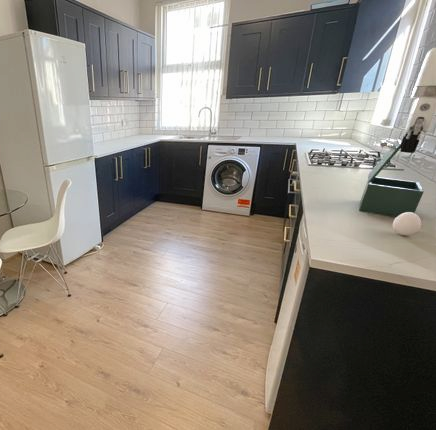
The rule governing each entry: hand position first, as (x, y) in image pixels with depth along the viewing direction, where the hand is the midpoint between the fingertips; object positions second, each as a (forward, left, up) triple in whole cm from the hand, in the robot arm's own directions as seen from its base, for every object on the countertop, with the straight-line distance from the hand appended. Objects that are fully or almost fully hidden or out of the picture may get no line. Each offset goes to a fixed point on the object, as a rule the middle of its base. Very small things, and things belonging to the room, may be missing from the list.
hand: (406, 150), depth 91 cm
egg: (-5, +11, -25) cm, 28 cm away
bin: (-1, -15, -25) cm, 29 cm away
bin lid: (+3, -15, -6) cm, 17 cm away
